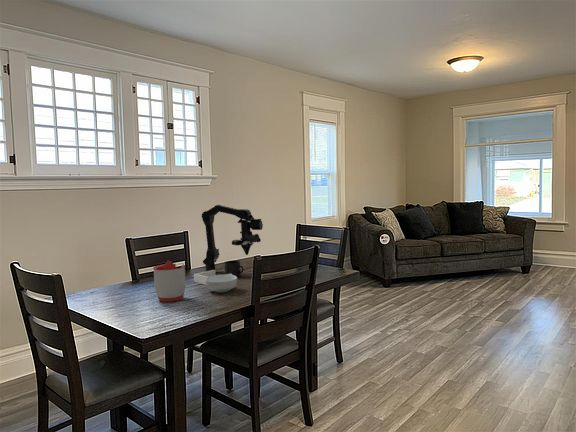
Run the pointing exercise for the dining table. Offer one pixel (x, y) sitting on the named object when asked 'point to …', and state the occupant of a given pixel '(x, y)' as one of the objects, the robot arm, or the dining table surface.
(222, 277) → the cereal bowl
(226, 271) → the mug
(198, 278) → the tray
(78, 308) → the dining table surface
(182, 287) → the citrus juicer
